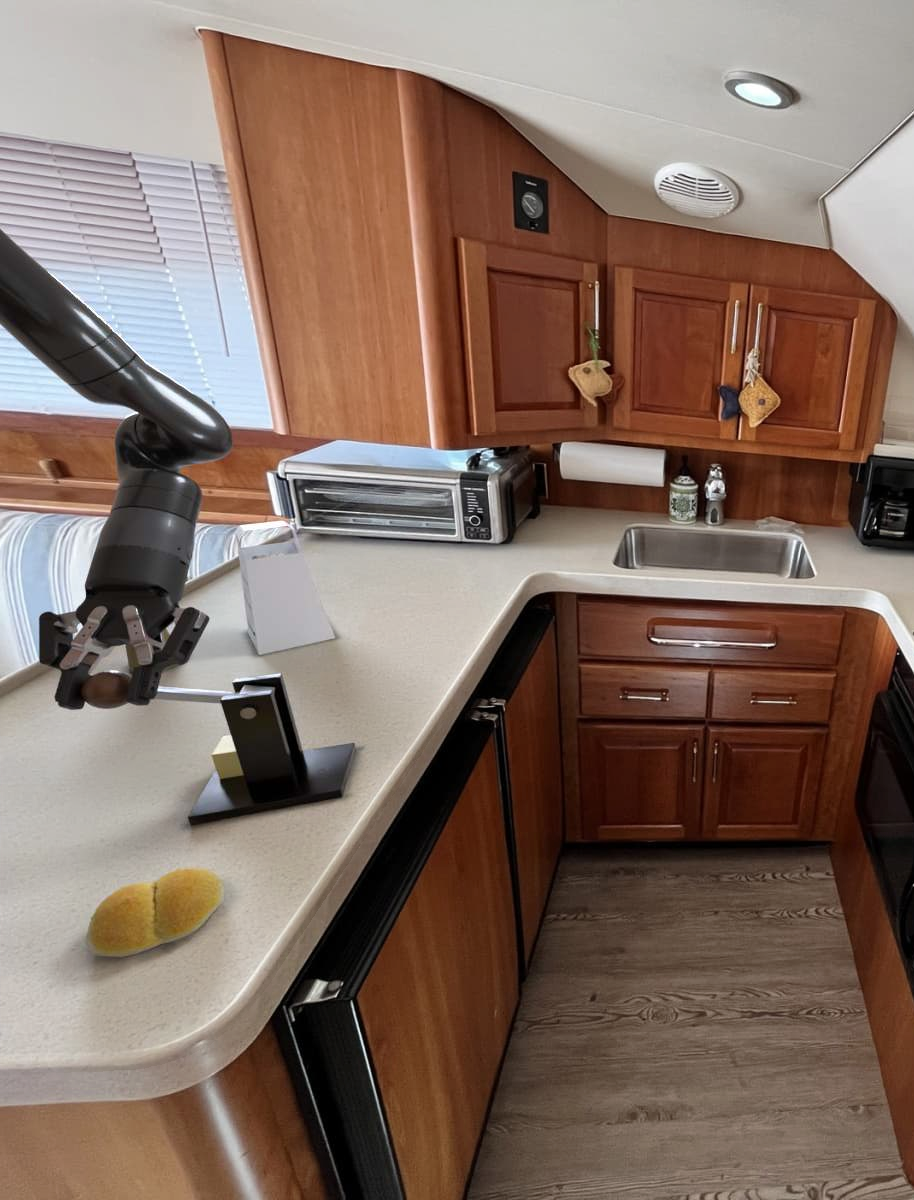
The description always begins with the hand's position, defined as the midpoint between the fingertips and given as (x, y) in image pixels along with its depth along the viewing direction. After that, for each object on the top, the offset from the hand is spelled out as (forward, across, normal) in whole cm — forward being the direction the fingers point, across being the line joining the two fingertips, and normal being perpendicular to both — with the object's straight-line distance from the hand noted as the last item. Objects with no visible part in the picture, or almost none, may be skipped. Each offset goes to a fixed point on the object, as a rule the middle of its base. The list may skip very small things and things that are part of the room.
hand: (104, 705), depth 65 cm
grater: (-23, -5, +43) cm, 49 cm away
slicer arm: (0, +4, +4) cm, 6 cm away
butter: (+5, +6, +14) cm, 16 cm away
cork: (-17, -20, +37) cm, 45 cm away
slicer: (+8, +11, +13) cm, 19 cm away
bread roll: (+22, +9, 0) cm, 23 cm away
